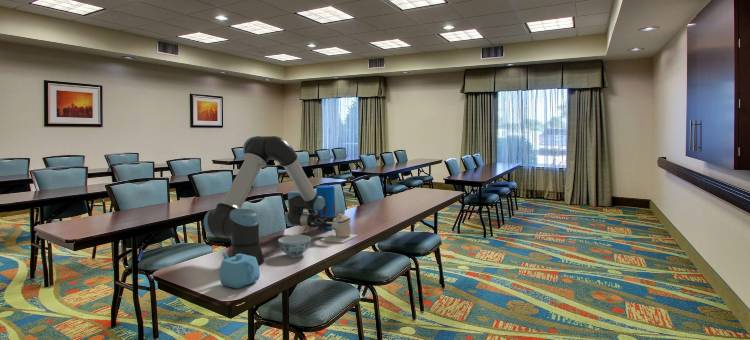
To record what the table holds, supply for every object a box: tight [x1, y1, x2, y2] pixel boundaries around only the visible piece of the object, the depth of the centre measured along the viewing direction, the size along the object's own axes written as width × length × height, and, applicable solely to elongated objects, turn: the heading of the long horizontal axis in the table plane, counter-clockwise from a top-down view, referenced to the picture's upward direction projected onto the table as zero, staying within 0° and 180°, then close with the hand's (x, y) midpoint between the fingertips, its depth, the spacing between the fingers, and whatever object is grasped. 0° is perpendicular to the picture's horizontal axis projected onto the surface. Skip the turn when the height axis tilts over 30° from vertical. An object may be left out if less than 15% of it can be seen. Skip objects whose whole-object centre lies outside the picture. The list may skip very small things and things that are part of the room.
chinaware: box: [277, 234, 312, 258], centre depth 191 cm, size 15×15×8 cm
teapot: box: [219, 252, 261, 289], centre depth 157 cm, size 12×18×12 cm
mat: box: [319, 232, 359, 244], centre depth 221 cm, size 16×14×1 cm
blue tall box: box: [315, 184, 337, 231], centre depth 244 cm, size 11×11×25 cm
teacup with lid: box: [332, 213, 353, 237], centre depth 223 cm, size 12×9×12 cm
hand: (344, 222), depth 219 cm, fingers open, 13 cm apart
